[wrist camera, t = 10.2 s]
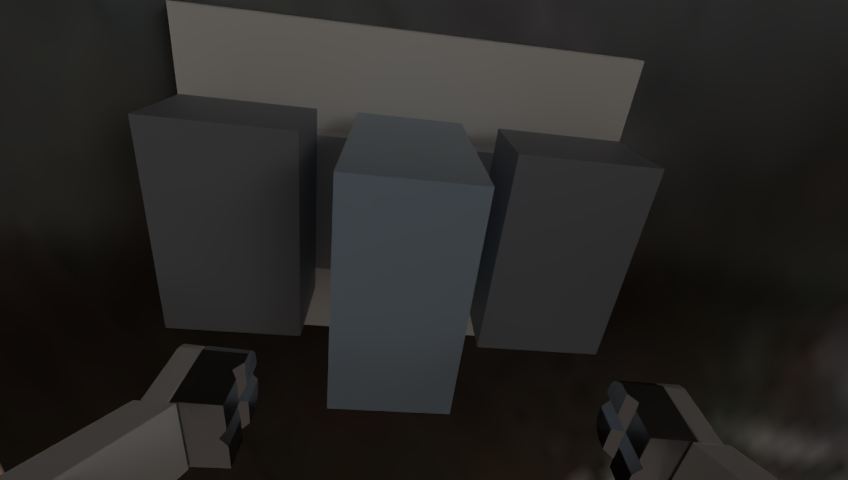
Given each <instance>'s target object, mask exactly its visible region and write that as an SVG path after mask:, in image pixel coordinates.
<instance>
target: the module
mask: <svg viewBox="0 0 848 480" xmlns="http://www.w3.org/2000/svg"><path fill="white" fill-rule="evenodd" d="M494 188H495V187H494V185H493V183H492V181H491V179H490V177H489V175H488V173H487V171H486V169H485V167H484V166H483V164H482V162H481V160H480V158H479V156H478V154H477V152H476V150H475V148H474V146H473V145H472V143H471V141H470V139H469V137H468V135H467V133H466V131H465V129H464V127H463V125H462V123H452V122H443V121H434V120H425V119H416V118H406V117H397V116H388V115H379V114H370V113H360V112H358V113H357V116H356V118H355V121H354V123H353V125H352V128H351V130H350V133H349V135H348V138H347V140H346V143H345V145H344V147H343V150H342V152H341V155H340V157H339V160H338V162H337V164H336V167H335V169H334V174H333V210H332V247H331V283H330V319H329V356H328V392H327V408H330V409H351V410H372V411H393V412H414V413H435V414H450V409H451V404H452V399H453V394H454V389H455V384H456V379H457V374H458V369H459V364H460V359H461V354H462V349H463V344H464V339H465V334H466V329H467V324H468V319H469V314H470V309H471V304H472V299H473V294H474V289H475V284H476V279H477V274H478V269H479V264H480V259H481V254H482V249H483V244H484V239H485V234H486V229H487V224H488V219H489V213H490V208H491V203H492V198H493V193H494Z"/></svg>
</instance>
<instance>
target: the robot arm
mask: <svg viewBox="0 0 848 480" xmlns="http://www.w3.org/2000/svg"><path fill="white" fill-rule="evenodd" d="M256 364H257V363H256V354H255V352H254V351H252V350H243V349H233V348H224V347H215V346H200V345H191V344H183V345H181V346H180V347H178V348H177V350H176V351H175V352H174V354H173V355H172V357H171V358H170V359H169V361H168V362H167V364H166V365H165V366H164V368H163V369H162V371H161V372H160V373H159V375H158V376H157V378H156V379H155V380H154V382H153V383H152V385H151V386H150V387H149V389H148V390H147V392H146V393H145V394H144V396H143V397H142V399H141V400H140V401H138V400H132V401H130V402H129V403H127V404H125V405H123V406H122V407H120V408H118V409H116V410H115V411H113V412H111V413H109V414H107V415H106V416H104V417H102V418H100V419H99V420H97V421H95V422H93V423H92V424H90V425H88V426H86V427H85V428H83V429H81V430H79V431H78V432H76V433H74V434H72V435H71V436H69V437H67V438H65V439H64V440H62V441H60V442H58V443H56V444H55V445H53V446H51V447H49V448H48V449H46V450H44V451H42V452H41V453H39V454H37V455H35V456H34V457H32V458H30V459H28V460H27V461H25V462H23V463H21V464H20V465H18V466H16V467H14V468H13V469H11V470H9V471H7V472H5V473H4V474H2V475H0V480H177V479H178V478H179V477H180V476H182V475H183V474H184V473H185V472H186V471H187V470H188V467H207V468H232V465H233V463H234V460H235V458H236V456H237V453H238V451H239V448H240V446H241V443H242V441H243V438H242V428H244V427H245V426H246V425H248V424H249V423H250V421H251V419H252V416H253V414H254V411H255V406H256V402H257V398H258V379H257V378H256V377H255V376H254V375H253V374H252V373H253V371H254V369H255V367H256ZM607 394H608V396H609V398H610V401H608V402H607V403H605V404H604V405H603V406H601V408H600V411H599V414H598V417H597V432H598V437H599V441H600V443H601V446H602V448H603V450H605V451H606V452H607V453H608V454H609V455H610V456H611V457H612V458H613V460H612V463H611V465H610V468H611V470H612V473H613V475H614V478H615V480H778V479H777V478H775V477H774V476H773V475H771V474H770V473H768V472H767V471H766V470H764V469H763V468H761V467H760V466H759V465H757V464H756V463H754V462H753V461H752V460H750V459H749V458H747V457H746V456H745V455H743V454H742V453H740V452H739V451H738V450H736V449H735V448H733V447H732V446H731V445H723V443H722V442H721V440H720V439H719V437H718V436H717V435H716V433H715V432H714V430H713V429H712V427H711V426H710V424H709V423H708V421H707V420H706V419H705V417H704V416H703V414H702V413H701V411H700V410H699V408H698V407H697V406H696V404H695V403H694V401H693V400H692V398H691V397H690V395H689V394H688V392H687V391H686V390H685V389H684V388H683V387H681V386H680V385H673V384H654V383H642V382H628V381H614V382H613V383H612V384H611V385H610V387H609V389H608V391H607Z"/></svg>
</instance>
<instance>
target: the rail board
mask: <svg viewBox="0 0 848 480" xmlns="http://www.w3.org/2000/svg"><path fill="white" fill-rule="evenodd" d="M166 5H167V13H168V21H169V29H170V37H171V45H172V53H173V61H174V69H175V77H176V85H177V93H178V94H177V95H175V96H172V97H169V98H167V99H164V100H162V101H159V102H157V103H154V104H151V105H149V106H146V107H144V108H141V109H139V110H136V111H133V112H131V113H128V117H129V123H130V129H131V134H132V140H133V146H134V151H135V157H136V163H137V168H138V174H139V180H140V185H141V191H142V197H143V202H144V208H145V214H146V219H147V225H148V231H149V236H150V242H151V248H152V253H153V259H154V265H155V270H156V276H157V282H158V287H159V293H160V299H161V304H162V310H163V316H164V321H165V327H166V328H178V329H194V330H210V331H226V332H242V333H258V334H275V335H291V336H300V335H301V332H302V329H303V326H304V325H318V326H329V319H330V283H331V247H332V210H333V174H334V169H335V167H336V164H337V162H338V160H339V157H340V155H341V152H342V150H343V147H344V145H345V143H346V140H347V138H348V135H349V133H350V130H351V128H352V125H353V123H354V121H355V118H356V116H357V113H358V112H360V113H370V114H379V115H388V116H397V117H406V118H416V119H425V120H434V121H443V122H452V123H462V125H463V127H464V129H465V131H466V133H467V135H468V137H469V139H470V141H471V143H472V145H473V146H474V148H475V150H476V152H477V154H478V156H479V158H480V160H481V162H482V164H483V166H484V167H485V169H486V171H487V173H488V175H489V177H490V179H491V181H492V183H493V185H494V187H495V188H494V193H493V198H492V203H491V208H490V213H489V219H488V224H487V229H486V234H485V239H484V244H483V249H482V254H481V259H480V264H479V269H478V274H477V279H476V284H475V289H474V294H473V299H472V304H471V309H470V314H469V319H468V324H467V329H466V334H465V335H474V336H475V340H476V344H477V347H484V348H500V349H516V350H533V351H549V352H565V353H581V354H596V353H597V350H598V348H599V345H600V342H601V340H602V337H603V334H604V331H605V329H606V326H607V323H608V321H609V318H610V315H611V313H612V310H613V307H614V305H615V302H616V299H617V297H618V294H619V291H620V289H621V286H622V283H623V281H624V278H625V275H626V272H627V270H628V267H629V264H630V262H631V259H632V256H633V254H634V251H635V248H636V246H637V243H638V240H639V238H640V235H641V232H642V230H643V227H644V224H645V221H646V219H647V216H648V213H649V211H650V208H651V205H652V203H653V200H654V197H655V195H656V192H657V189H658V187H659V184H660V181H661V179H662V176H663V173H664V170H665V169H664V168H662V167H660V166H659V165H657V164H656V163H654V162H652V161H651V160H649V159H647V158H646V157H644V156H642V155H641V154H639V153H638V152H636V151H634V150H633V149H631V148H629V147H628V146H626V145H624V144H623V143H621V142H619V141H620V138H621V135H622V131H623V128H624V125H625V122H626V119H627V116H628V112H629V109H630V106H631V103H632V100H633V97H634V93H635V90H636V87H637V84H638V81H639V78H640V74H641V71H642V68H643V65H644V62H645V61H642V60H637V59H632V58H624V57H616V56H608V55H601V54H593V53H585V52H577V51H569V50H561V49H553V48H545V47H538V46H530V45H522V44H514V43H506V42H498V41H490V40H483V39H475V38H467V37H459V36H451V35H443V34H435V33H427V32H420V31H412V30H404V29H396V28H388V27H380V26H372V25H364V24H357V23H349V22H341V21H333V20H325V19H317V18H309V17H301V16H294V15H286V14H278V13H270V12H262V11H254V10H246V9H238V8H231V7H223V6H215V5H207V4H199V3H191V2H183V1H167V0H166Z"/></svg>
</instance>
